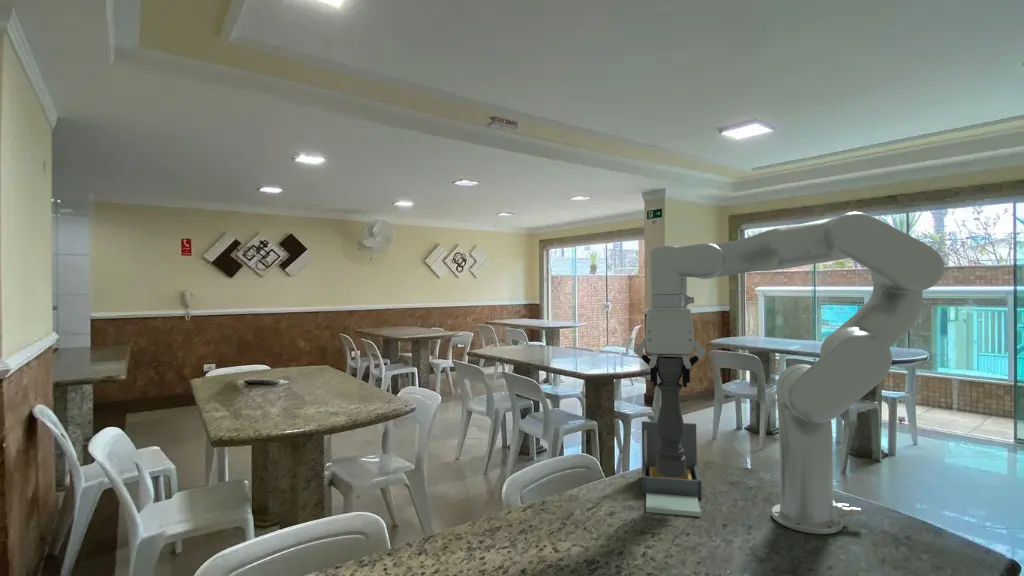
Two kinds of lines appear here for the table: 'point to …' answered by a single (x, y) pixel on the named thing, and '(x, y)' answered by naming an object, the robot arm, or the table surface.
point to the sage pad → (672, 504)
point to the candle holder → (670, 418)
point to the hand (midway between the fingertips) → (669, 384)
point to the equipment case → (666, 484)
